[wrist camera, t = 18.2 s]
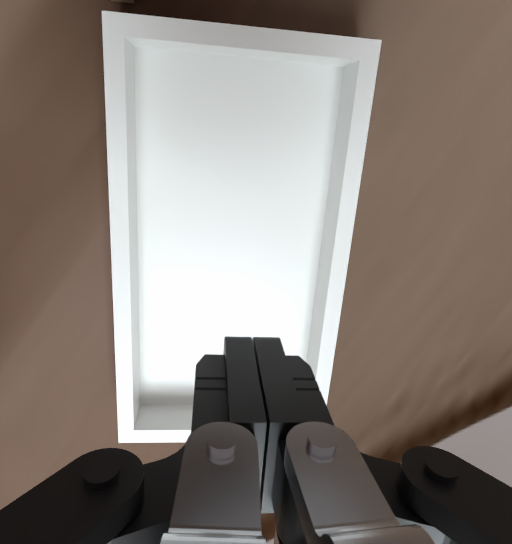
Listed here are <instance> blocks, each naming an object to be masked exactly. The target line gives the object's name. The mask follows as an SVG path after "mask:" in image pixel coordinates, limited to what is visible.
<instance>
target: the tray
mask: <svg viewBox="0 0 512 544" xmlns="http://www.w3.org/2000/svg"><path fill="white" fill-rule="evenodd" d="M102 32H103V57H104V83H105V108H106V134H107V159H108V185H109V210H110V236H111V261H112V287H113V312H114V338H115V363H116V389H117V414H118V440H119V443H154V442H186V441H187V439H188V437H189V435H190V434H191V426H192V412H193V398H194V385H195V371H196V364H197V363H198V362H199V361H200V359H201V358H202V357H203V356H204V355H205V354H218V355H223V351H224V337H225V336H231V337H251V338H253V337H279V338H280V340H281V343H282V346H283V349H284V352H285V355H291V356H300V357H301V358H302V359H303V360H304V361H305V362H306V363H308V364H309V365H310V366H311V369H312V371H313V374H314V376H315V381H317V384H318V386H319V391H321V394H322V396H323V399H324V401H325V404H326V406H327V399H328V393H329V386H330V379H331V373H332V366H333V359H334V353H335V346H336V340H337V333H338V326H339V320H340V313H341V307H342V300H343V293H344V287H345V280H346V273H347V267H348V260H349V254H350V247H351V240H352V234H353V227H354V220H355V214H356V207H357V201H358V194H359V187H360V181H361V174H362V167H363V161H364V154H365V148H366V141H367V134H368V128H369V121H370V114H371V108H372V101H373V95H374V88H375V81H376V75H377V68H378V61H379V55H380V48H381V42H382V40H376V39H367V38H357V37H348V36H338V35H329V34H319V33H310V32H300V31H291V30H281V29H272V28H263V27H253V26H244V25H234V24H225V23H215V22H206V21H196V20H187V19H177V18H168V17H159V16H149V15H140V14H130V13H121V12H111V11H102Z"/></svg>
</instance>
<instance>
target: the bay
mask: <svg viewBox="0 0 512 544" xmlns="http://www.w3.org/2000/svg"><path fill="white" fill-rule="evenodd" d="M110 1H114V2H123V3H132V4H134V0H110Z"/></svg>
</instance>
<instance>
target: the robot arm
mask: <svg viewBox="0 0 512 544" xmlns="http://www.w3.org/2000/svg"><path fill="white" fill-rule="evenodd" d="M260 509H261V512H260ZM261 513H274V516H275V523H276V530H275V539H274V544H512V487H509V486H508V485H506V484H505V483H503V482H501V481H499V480H498V479H496V478H494V477H492V476H491V475H489V474H487V473H485V472H483V471H482V470H480V469H478V468H477V467H475V466H473V465H471V464H470V463H468V462H466V461H464V460H463V459H461V458H459V457H457V456H455V455H453V454H452V453H450V452H447V451H445V450H442V449H439V448H435V447H430V446H417V447H413V448H411V449H409V450H407V451H406V452H405V453H404V454H403V456H402V459H401V464H400V463H396V462H392V461H388V460H383V459H379V458H375V457H372V456H368V455H366V454H363V453H361V452H359V450H358V448H357V446H356V444H355V443H354V441H353V440H352V438H351V437H350V436H349V435H348V434H347V433H346V432H344V431H343V430H341V429H340V428H338V427H336V426H334V423H333V421H332V419H331V416H330V414H329V411H328V409H327V406H326V404H325V401H324V399H323V396H322V394H321V391H319V386H318V384H317V381H315V376H314V374H313V371H312V369H311V366H310V365H309V364H308V363H306V362H305V361H304V360H303V359H302V358H301V357H300V356H291V355H285V352H284V349H283V346H282V343H281V340H280V338H279V337H253V338H251V337H231V336H225V337H224V351H223V355H218V354H205V355H204V356H203V357H202V358H201V359H200V361H199V362H198V363H197V364H196V371H195V385H194V398H193V412H192V426H191V434H190V435H189V437H188V439H187V441H186V444H185V445H184V446H183V447H182V448H181V449H180V450H179V451H178V452H176V453H175V454H173V455H171V456H169V457H167V458H165V459H162V460H159V461H155V462H151V463H148V464H144V465H143V464H142V462H141V461H140V459H139V458H138V457H137V456H136V455H134V454H133V453H131V452H129V451H126V450H123V449H118V448H105V449H99V450H95V451H92V452H89V453H86V454H84V455H82V456H80V457H79V458H77V459H75V460H74V461H72V462H71V463H69V464H68V465H66V466H65V467H64V468H62V469H61V470H59V471H58V472H56V473H55V474H53V475H52V476H50V477H49V478H47V479H46V480H44V481H43V482H41V483H40V484H38V485H37V486H35V487H34V488H32V489H31V490H29V491H28V492H26V493H25V494H24V495H22V496H21V497H19V498H18V499H16V500H15V501H13V502H12V503H10V504H9V505H7V506H6V507H4V508H3V509H1V510H0V544H266V541H265V536H262V535H261Z"/></svg>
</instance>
